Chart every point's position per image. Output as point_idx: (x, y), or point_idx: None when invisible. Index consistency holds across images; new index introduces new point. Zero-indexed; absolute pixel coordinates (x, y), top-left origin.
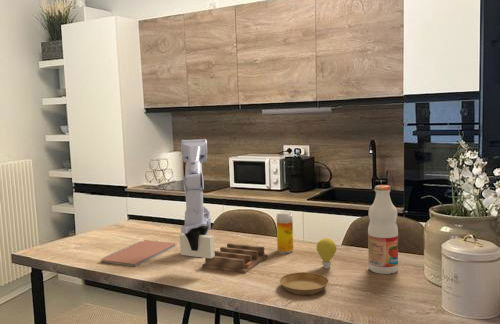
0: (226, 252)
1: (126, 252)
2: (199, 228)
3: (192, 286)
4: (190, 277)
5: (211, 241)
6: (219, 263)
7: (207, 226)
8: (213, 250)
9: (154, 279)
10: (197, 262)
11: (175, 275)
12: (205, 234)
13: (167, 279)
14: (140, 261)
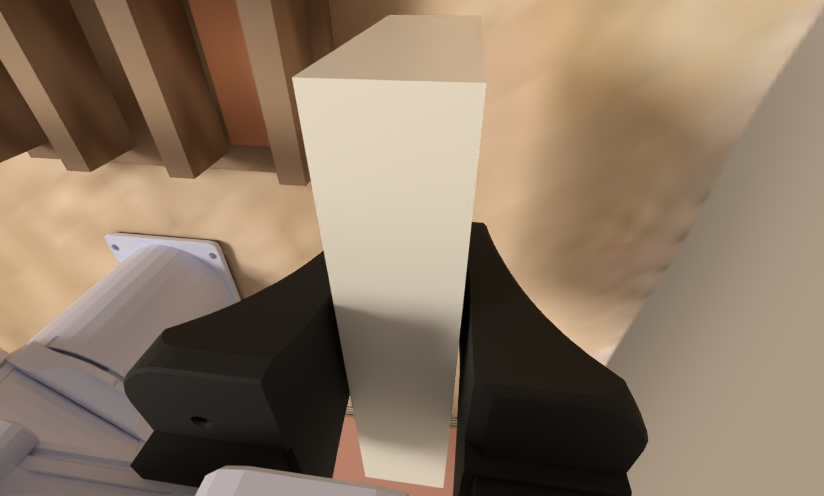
0: (122, 50)
1: (364, 477)
2: (300, 442)
3: (752, 27)
4: (546, 147)
5: (426, 58)
6: (299, 27)
7: (133, 383)
8: (399, 26)
9: (607, 310)
10: (291, 233)
11: (527, 246)
12: (266, 288)
13: (601, 256)
14: None
